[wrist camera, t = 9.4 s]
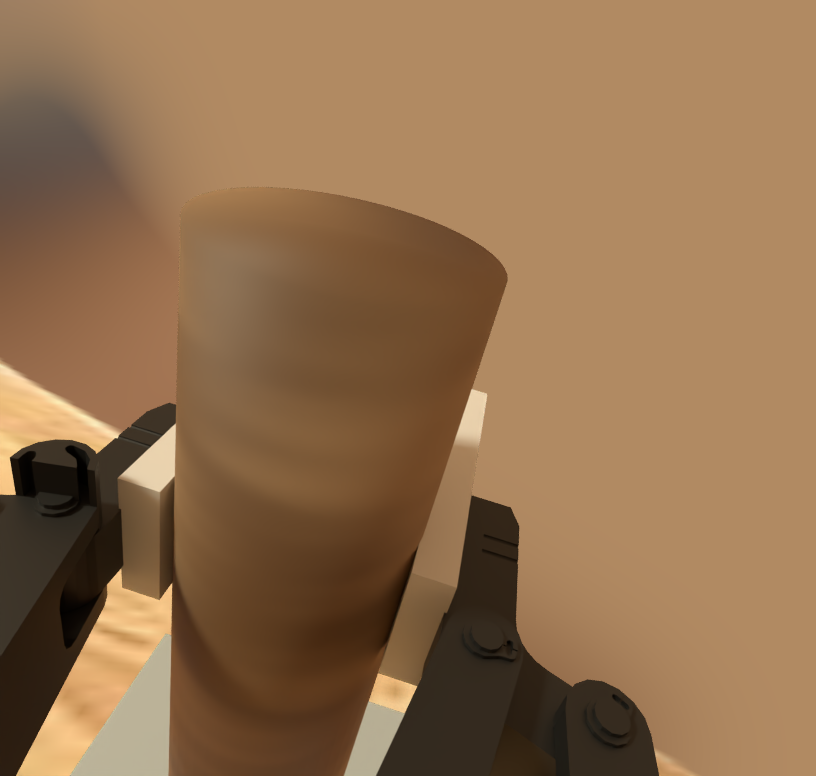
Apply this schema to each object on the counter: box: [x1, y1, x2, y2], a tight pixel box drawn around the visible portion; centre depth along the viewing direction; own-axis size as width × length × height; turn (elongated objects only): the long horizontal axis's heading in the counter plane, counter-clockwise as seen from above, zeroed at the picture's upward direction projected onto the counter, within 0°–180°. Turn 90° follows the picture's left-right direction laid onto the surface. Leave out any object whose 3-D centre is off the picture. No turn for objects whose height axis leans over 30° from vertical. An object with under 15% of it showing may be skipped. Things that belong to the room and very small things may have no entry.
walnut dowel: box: [168, 187, 507, 776], centre depth 12 cm, size 4×4×15 cm
